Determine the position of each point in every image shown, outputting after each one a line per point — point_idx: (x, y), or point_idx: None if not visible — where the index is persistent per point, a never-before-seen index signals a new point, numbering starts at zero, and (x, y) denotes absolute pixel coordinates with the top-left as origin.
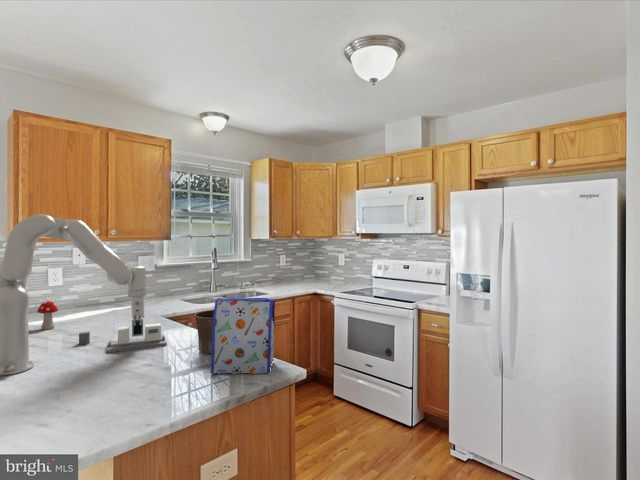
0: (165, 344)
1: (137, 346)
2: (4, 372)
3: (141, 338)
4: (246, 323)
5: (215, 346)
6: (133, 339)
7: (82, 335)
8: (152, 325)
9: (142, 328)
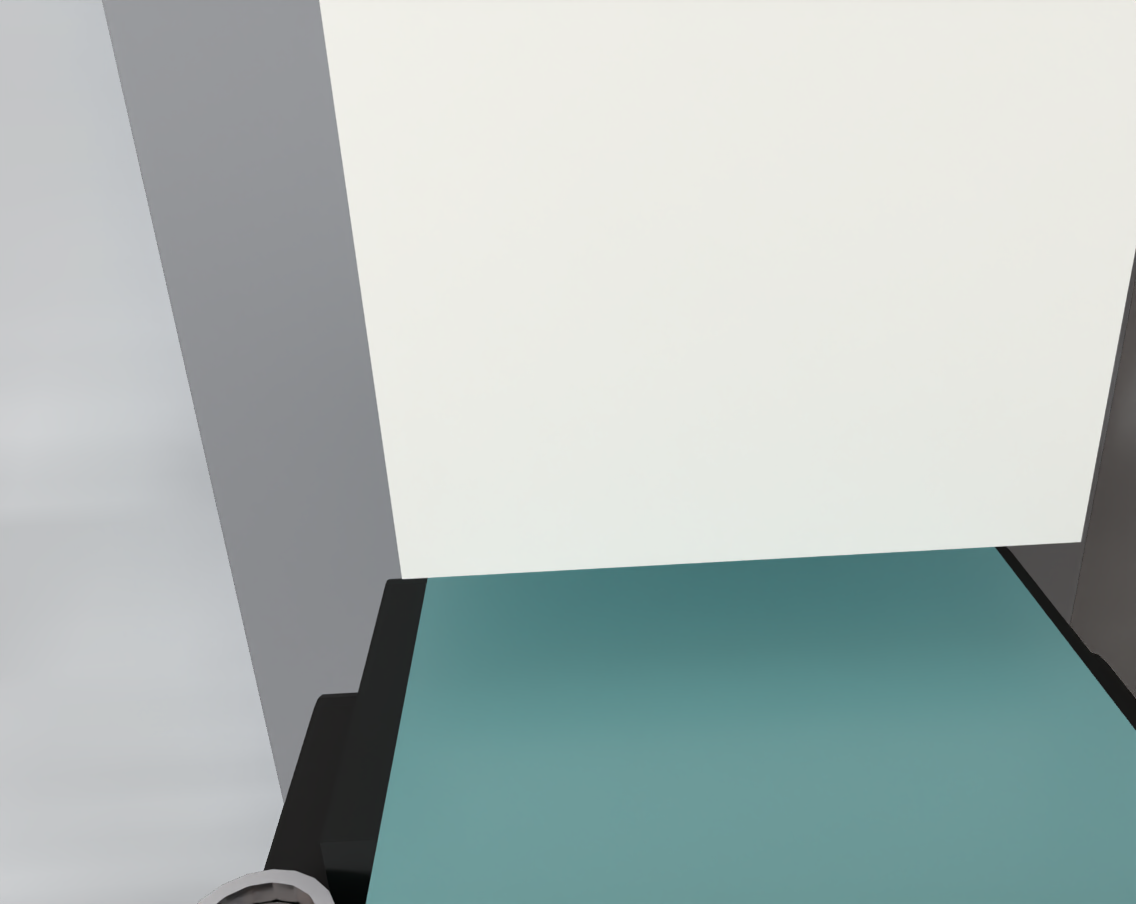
0: None
1: (1097, 471)
2: None
3: (232, 412)
4: None
5: None
6: (282, 600)
7: None
8: (873, 164)
9: (1031, 623)
